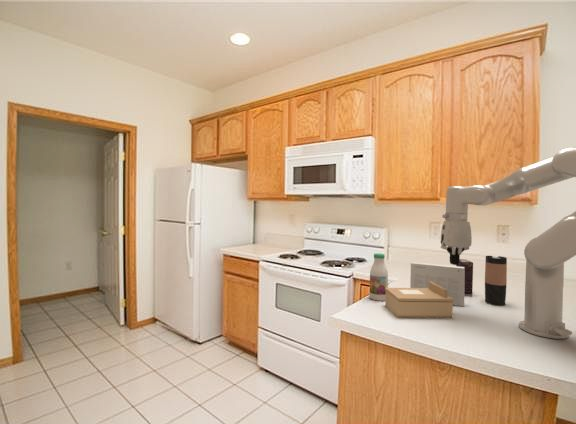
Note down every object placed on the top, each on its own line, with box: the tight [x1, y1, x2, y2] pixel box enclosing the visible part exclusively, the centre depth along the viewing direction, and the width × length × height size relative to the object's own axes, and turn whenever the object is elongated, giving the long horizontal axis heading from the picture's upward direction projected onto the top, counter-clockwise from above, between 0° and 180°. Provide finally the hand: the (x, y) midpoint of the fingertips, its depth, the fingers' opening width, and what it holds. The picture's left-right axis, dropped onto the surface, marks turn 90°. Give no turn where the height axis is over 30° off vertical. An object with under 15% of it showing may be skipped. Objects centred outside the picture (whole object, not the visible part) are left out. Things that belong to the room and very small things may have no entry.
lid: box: [385, 282, 454, 302], centre depth 116 cm, size 14×20×4 cm
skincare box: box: [409, 261, 465, 307], centre depth 130 cm, size 21×6×16 cm, turn 57°
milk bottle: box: [369, 253, 389, 302], centre depth 131 cm, size 8×8×20 cm
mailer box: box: [385, 291, 454, 319], centre depth 116 cm, size 14×20×6 cm
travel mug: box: [484, 255, 508, 307], centre depth 127 cm, size 8×8×20 cm
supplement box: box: [455, 259, 474, 297], centre depth 141 cm, size 9×5×16 cm, turn 168°
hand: (454, 264), depth 116 cm, fingers closed
